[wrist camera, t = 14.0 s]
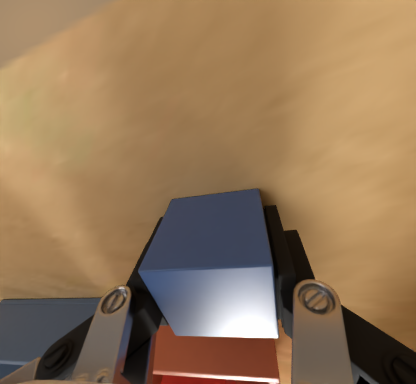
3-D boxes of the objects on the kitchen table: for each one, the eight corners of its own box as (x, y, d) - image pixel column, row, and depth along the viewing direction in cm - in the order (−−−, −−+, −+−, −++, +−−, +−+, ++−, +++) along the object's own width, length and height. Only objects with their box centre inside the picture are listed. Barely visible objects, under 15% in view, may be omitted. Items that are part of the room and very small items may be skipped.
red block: (174, 325, 17) (156, 400, 13) (227, 326, 16) (225, 407, 12) (188, 350, 19) (176, 420, 15) (236, 352, 18) (236, 427, 14)
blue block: (171, 198, 11) (136, 271, 7) (258, 187, 10) (273, 265, 6) (193, 257, 13) (175, 336, 9) (265, 252, 12) (279, 339, 8)
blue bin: (2, 299, 19) (-56, 357, 15) (105, 297, 17) (67, 365, 13) (68, 353, 25) (37, 405, 21) (152, 357, 22) (135, 417, 19)
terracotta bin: (124, 297, 16) (91, 366, 13) (267, 294, 14) (279, 378, 10) (167, 358, 22) (153, 419, 18) (275, 363, 20) (285, 435, 16)
